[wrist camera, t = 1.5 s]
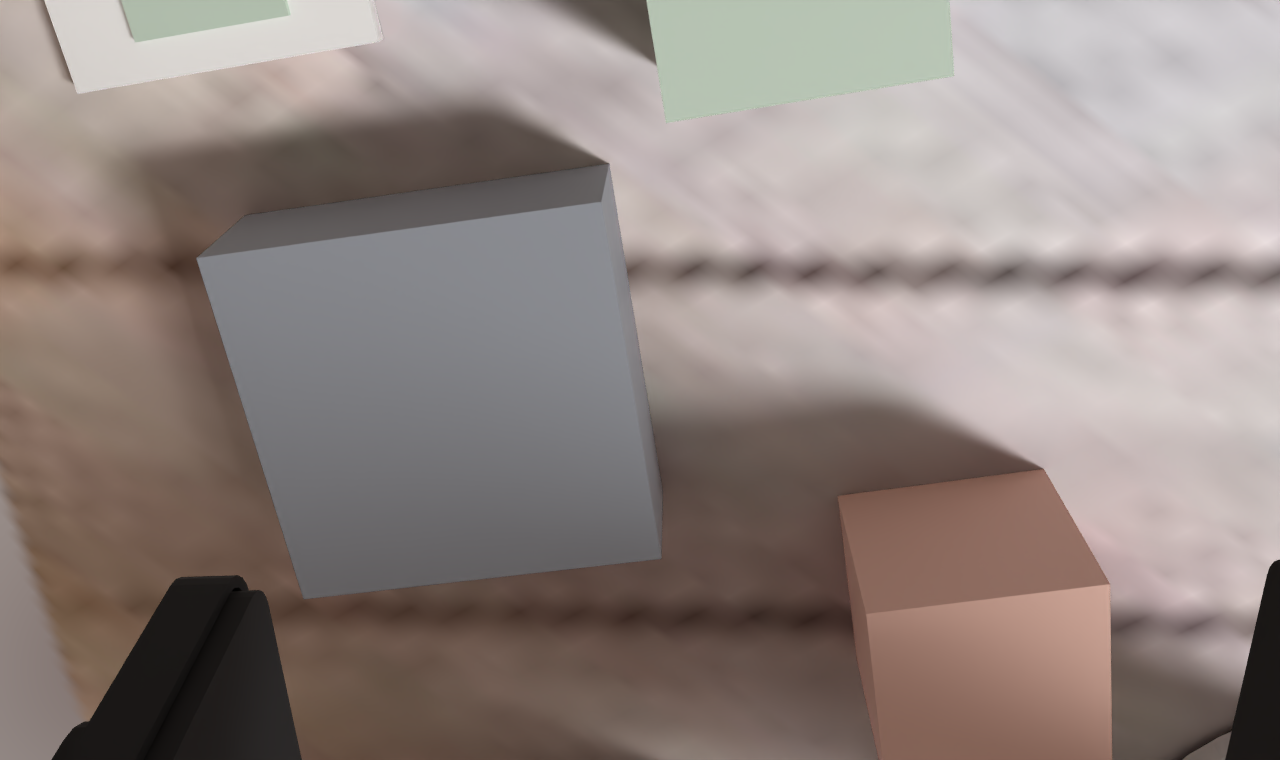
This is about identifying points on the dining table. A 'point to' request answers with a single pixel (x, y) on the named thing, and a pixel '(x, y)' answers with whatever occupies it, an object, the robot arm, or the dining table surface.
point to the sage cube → (792, 50)
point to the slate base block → (443, 381)
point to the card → (198, 35)
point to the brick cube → (978, 621)
